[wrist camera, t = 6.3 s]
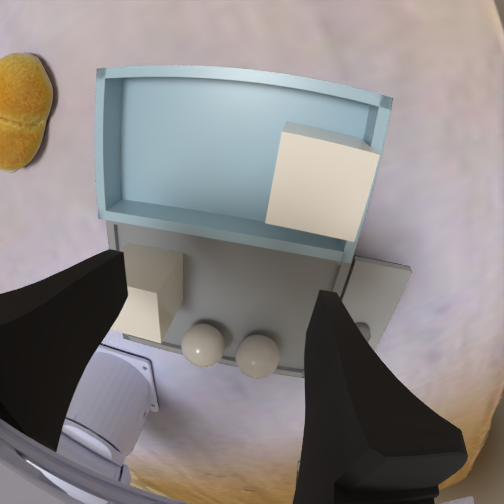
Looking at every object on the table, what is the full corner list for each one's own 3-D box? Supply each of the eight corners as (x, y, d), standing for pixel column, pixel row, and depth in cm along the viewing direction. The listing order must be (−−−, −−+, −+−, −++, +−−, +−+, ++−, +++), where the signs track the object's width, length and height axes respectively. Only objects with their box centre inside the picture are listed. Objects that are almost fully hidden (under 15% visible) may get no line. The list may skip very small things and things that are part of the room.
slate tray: (356, 376, 25) (357, 388, 24) (127, 331, 26) (121, 342, 25) (411, 262, 19) (417, 274, 18) (112, 209, 20) (101, 217, 19)
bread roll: (70, 64, 15) (30, 66, 12) (41, 176, 20) (6, 194, 16) (7, 43, 14) (-29, 47, 11) (-14, 141, 19) (-46, 154, 15)
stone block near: (342, 205, 17) (354, 242, 13) (273, 190, 18) (264, 223, 14) (360, 137, 15) (379, 154, 11) (286, 120, 16) (281, 131, 12)
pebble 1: (227, 348, 24) (218, 379, 21) (188, 340, 24) (176, 369, 22) (230, 319, 23) (221, 351, 20) (188, 310, 23) (174, 340, 20)
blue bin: (345, 242, 19) (350, 263, 17) (118, 203, 20) (98, 218, 18) (380, 96, 14) (392, 98, 12) (119, 68, 15) (97, 68, 13)
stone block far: (182, 300, 22) (161, 343, 18) (133, 288, 23) (105, 327, 19) (183, 252, 20) (157, 293, 16) (129, 242, 21) (95, 277, 17)
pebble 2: (277, 358, 24) (273, 389, 21) (237, 350, 24) (229, 382, 21) (285, 329, 22) (282, 362, 20) (241, 321, 23) (233, 353, 20)
